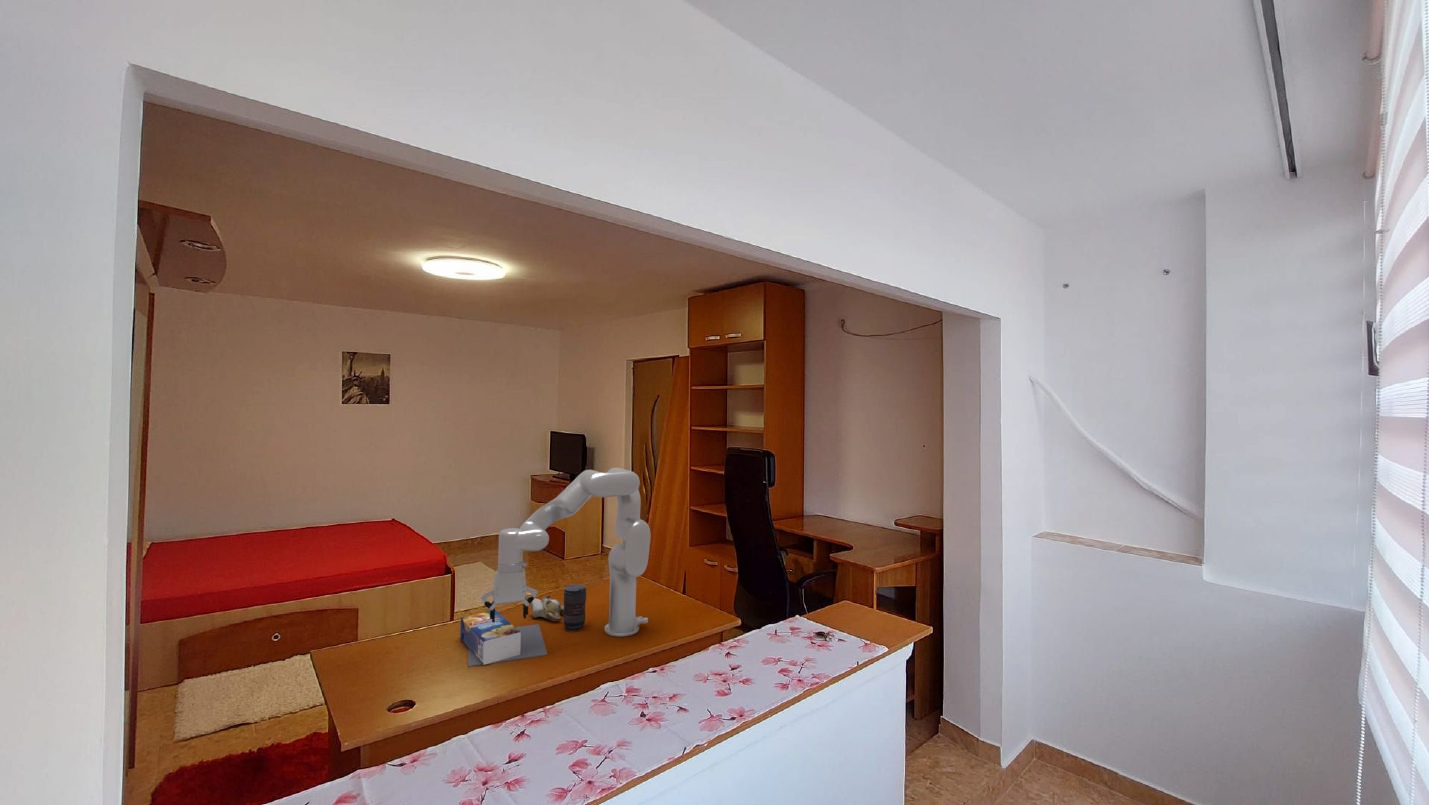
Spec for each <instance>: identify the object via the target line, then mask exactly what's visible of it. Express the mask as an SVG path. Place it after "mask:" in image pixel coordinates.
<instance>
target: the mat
mask: <svg viewBox="0 0 1429 805" xmlns="http://www.w3.org/2000/svg"><path fill="white" fill-rule="evenodd" d="M515 627H516V628H517V629H518V630H519V631H520V632H521V645H520V655H517V656H514V657H510V658H506V659H503V660H499V661H496V662H492V663H489V664H488V665H491V664H498V663H505V662H511V661H512V662H513V661H517V660H518V661H519V660H525V659H532V658H540V657H543V656H548V652H547V648H546V644H545V641H544V637H543V634H542V631H541V627H540V624H539V623H538V624H530V625H523V626H521V625H520V626H515ZM467 648H468V647H467ZM467 651H468V656H467V657H468V658H467V659H468V660H467V664H468V666H467V667H468V668H470V667H478V666H485V665H486V666H487V664H485V665H483V664H482V663H481V661H480V660H479V659H478V658H477V657H476V656H475V655H474V654H473V652H472V651H471V650H470V649H469V648H468V649H467Z"/></svg>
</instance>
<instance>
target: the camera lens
mask: <svg viewBox="0 0 1429 805" xmlns="http://www.w3.org/2000/svg"><path fill="white" fill-rule="evenodd" d="M586 602H587V587H586V585H584V584H570V585H567V586H565V587H564V590H563V606H564V614H563V615H562V616H563V619H562V620H563V625H564V629H565V631H568V632H577V631H580V630H583V628H584V625H585V622H586Z"/></svg>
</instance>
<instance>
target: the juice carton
mask: <svg viewBox="0 0 1429 805" xmlns="http://www.w3.org/2000/svg"><path fill="white" fill-rule="evenodd" d="M516 627H517V626H514V625H513V624H512V623H511V622H510V621H509V620H507V619H506V618H505V616H503V615H502V614H500V613H499V612H498V611H497V610H496V609H495V622H493V623H492V619H490V610H489V611H485V612H480V613H476V614H471V615H466V616H462V617H460V630H459V632H460V633H459V635H460V639H459V640H461V641H462V642H463V644H464V645H465V646H466V647H467V648H469V649H470V650H471V651H472V652H473V654H474V655H475V656H476V657H477V658H478V659H479V660H480V661H481V663H482V664H483V665H482V666H485V664H486V665H490V664H489V663H492V662H496V661H499V660H503V659H506V658H510V657H514V656H517V655H520V645H521V632H520V631H519V630H518V629H517V628H516ZM492 664H493V663H492Z"/></svg>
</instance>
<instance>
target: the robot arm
mask: <svg viewBox="0 0 1429 805" xmlns="http://www.w3.org/2000/svg"><path fill="white" fill-rule="evenodd" d="M640 481H641V480H640V478H639V475H638V474H636V472H634V471H632V470H629V469H625V468H621V467H612V468H610V469H609V470H607V471H606V472H600V471H597V470H594V469H585V470H583V471H582V472H581V473H579V475H577V477H575V479H574V480H573V481H572V482H570V483H569V485H567V487H565V489H564V490H562V491H561V492H560V493H559V494H558V495H557V496H556V497H555V498H554V499H552V500H550V501H549V502H547V503H546V504H544V505H542V506H541V507H539V508H538V509H537V510H535V511H534V512H533V513H532V514H531V515H530V516H529V517H528V518H527V519H526V520H525V521H524V522H523V523H522V524H521V526H520V527H519V528H515V527H511V528H504V529H501V530H500V532H499V533H498V555H497V556H498V558H497V561H498V562H497V570H496V571H495V573H494V576H493V586H492V587H493V588H492V589H491V590H490V591H488V592H487V593H485V594H483V595H481V597H480V599H481V601H482V603H483V604H484V606H485V607H486V608H487V609H488V610H489V611H490V619H492V623H493V622H495V610H496V606H498V605H500V604H511V603H517V602H518V603H519V602H522V604H523V605H522V617H523V619H524V620H525V619H527V616H528V615H529V606H530V604H531V602H532V601H533V600H534V598H536V596H537V595H538V590H537V589H535V588H532V587H529V586H527V581H526V571H525V568H524V567H527V566H528V561H523V560H524V559H523V557H524V556H523V552H539V551H542V550H543V549H545V548H546V547H547V546H548V545H549V541H550V536H549V534H548V532H547V531H546V529H547V528H549V527H550V526H551V525H552V524H554V523H556V522H557V521H559V520H562V519H566V518H569V517H572V516H574V515H575V514H576V513H577V512H578V511H579V510H580V509H581V508H582V507H583V506H584V504H586V503H588V501H589V500H590V499H591V498H592V497H595V498H613V497H616V500H617V509H616V519H615V525H614V533H615V536H616V537H617V538H619V539H620V540H621V541H623V542H625V543H618V544H615V545H614V546H613V547H612V548H610V549H611V550H610V551H609V553H608V567H609V568H608V569H609V570H608V571H609V609H608V610H609V611H608V612H609V613H608V614H609V615H608V623H607V624H606V625H605V626H604V632H605V633H606V634H607V635H609V636H612V637H629V636H633V635H634V634H637V633H638V632H639V630H640V624H648V622H649V619H648V617H643V615H642V616H641V615H640V616H636V604H637V603H636V598H637V597H636V596H637V577H640V576H641V575H643V574H644V573H645V571H646V569H647V566H648V563H649V555H650V546H651V536H652V535H651V529H650V526H649V524H648V523H647V522H646V521H645V520H643V519H641V506H642V505H641V504H642V503H641V500H642V499H641V494H640V490H639V488H640V483H641V482H640ZM527 592H528V593H530V596H529V597H528V598H527ZM489 597H492V599H493V600H492V601H491V602H490V601H489V600H488V598H489Z"/></svg>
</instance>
